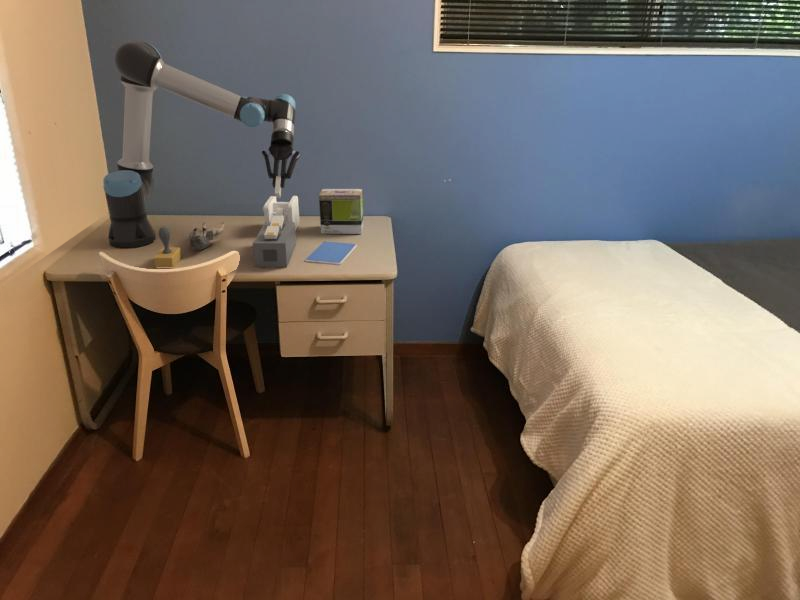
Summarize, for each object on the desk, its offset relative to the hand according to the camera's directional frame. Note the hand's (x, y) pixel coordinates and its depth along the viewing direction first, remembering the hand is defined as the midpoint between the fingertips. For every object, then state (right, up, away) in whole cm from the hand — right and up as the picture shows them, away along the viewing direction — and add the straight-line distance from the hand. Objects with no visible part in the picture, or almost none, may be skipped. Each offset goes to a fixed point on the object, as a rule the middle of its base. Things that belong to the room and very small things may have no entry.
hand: (277, 195), depth 205 cm
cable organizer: (-3, -9, +22) cm, 24 cm away
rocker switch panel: (0, -20, -2) cm, 20 cm away
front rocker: (0, -14, -11) cm, 17 cm away
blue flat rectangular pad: (+18, -20, 0) cm, 27 cm away
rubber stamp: (-33, -23, -9) cm, 41 cm away
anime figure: (-27, -15, +9) cm, 32 cm away
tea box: (+19, -9, +23) cm, 31 cm away
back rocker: (0, -9, -1) cm, 9 cm away
